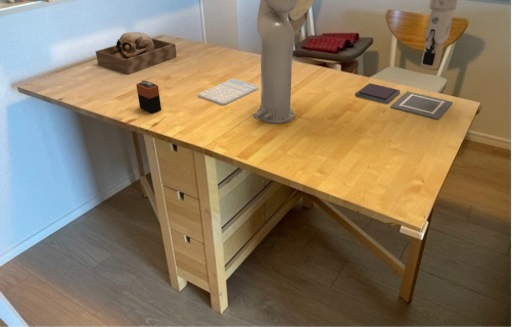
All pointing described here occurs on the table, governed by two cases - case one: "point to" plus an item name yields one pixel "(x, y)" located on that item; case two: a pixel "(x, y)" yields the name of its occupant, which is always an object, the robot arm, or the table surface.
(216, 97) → the calculator
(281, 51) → the robot arm
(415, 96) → the marked board
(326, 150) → the table surface
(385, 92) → the ink pad
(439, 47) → the candle
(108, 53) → the wooden tray
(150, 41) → the brown skull
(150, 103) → the battery
